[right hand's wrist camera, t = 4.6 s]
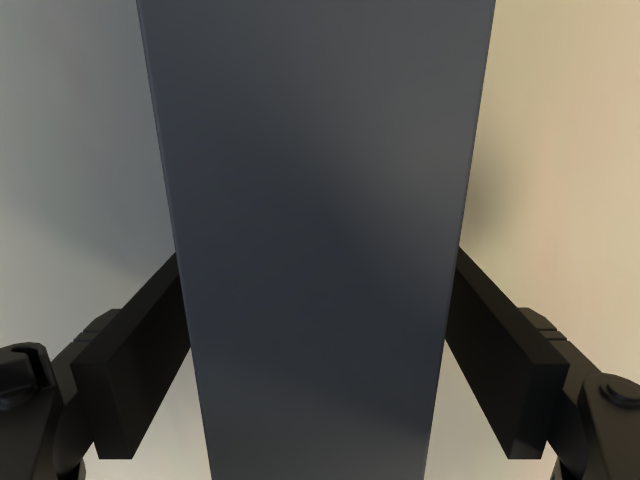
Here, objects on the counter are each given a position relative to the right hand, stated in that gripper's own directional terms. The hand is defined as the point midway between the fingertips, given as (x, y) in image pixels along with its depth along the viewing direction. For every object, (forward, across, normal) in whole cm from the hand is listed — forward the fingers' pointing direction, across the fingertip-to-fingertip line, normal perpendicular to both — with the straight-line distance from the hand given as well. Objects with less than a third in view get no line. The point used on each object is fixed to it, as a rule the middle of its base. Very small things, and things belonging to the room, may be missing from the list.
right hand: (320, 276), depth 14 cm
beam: (+1, 0, -22) cm, 23 cm away
